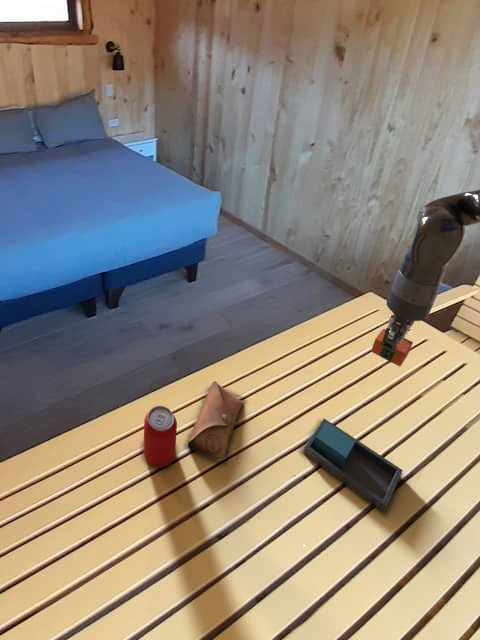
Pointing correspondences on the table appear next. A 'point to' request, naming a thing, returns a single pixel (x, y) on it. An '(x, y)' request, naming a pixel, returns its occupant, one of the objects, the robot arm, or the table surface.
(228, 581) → the table surface
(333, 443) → the pad
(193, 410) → the table surface
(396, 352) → the loose pad
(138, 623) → the table surface
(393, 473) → the frame
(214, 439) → the sunglasses case
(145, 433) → the beverage can
